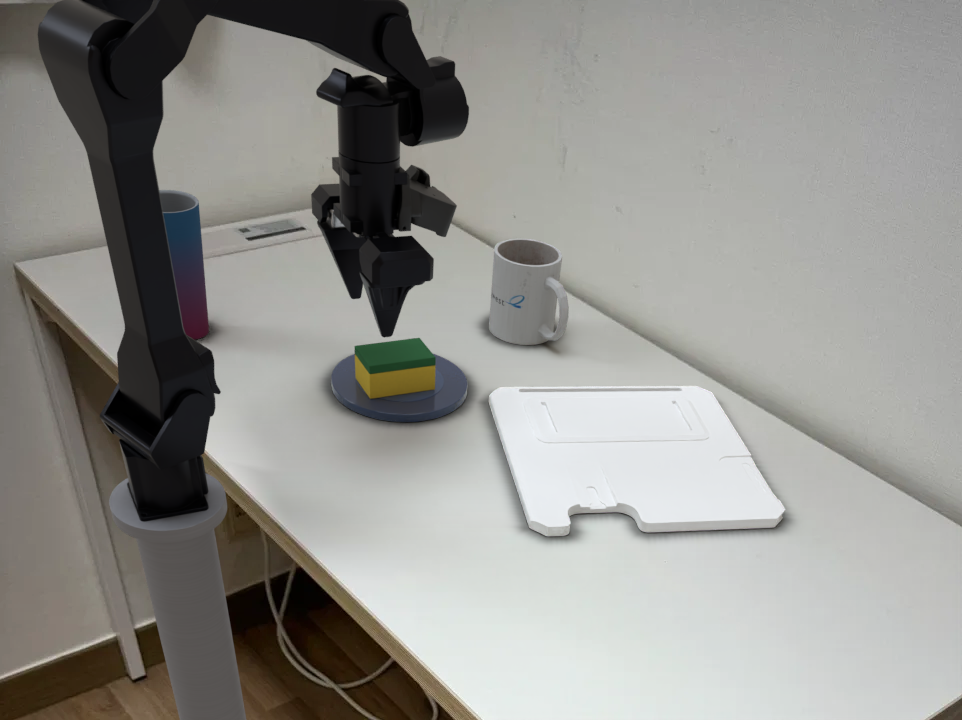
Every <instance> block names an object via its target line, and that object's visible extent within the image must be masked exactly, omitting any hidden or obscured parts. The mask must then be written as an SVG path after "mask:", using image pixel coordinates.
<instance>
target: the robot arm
mask: <svg viewBox="0 0 962 720" xmlns="http://www.w3.org/2000/svg"><path fill="white" fill-rule="evenodd" d="M207 16H211V17H215V18H219V19H222V20H226V21H229V22H233V23H237V24H241V25H245V26H249V27H253V28H257V29H260V30H265V31H269V32H272V33H276V34H280V35H283V36H288V37H292V38H295V39H300V40H304V41H306V42H307V43H309V44H310V45H313V46H314V47H316V48H318V49H320V50H322V51H323V52H325V53H326V54H329V55H331V56H333V57H335V58H337V59H339V60H342V61H343V62H346V63H349V64H351V65H353V66H356V67H359V68H361V69H363V70H366V71H368V72H371V73H374V74H376V75H378V76H381V77H382V78H383V77H384V78H386V80H385V81H384V82H382V81H381V80H380V79H379V78H377V77H376V76H374V75H371V74H363V75H356V76H353V75H352V74H350V72H347V71H344V70H342V69H339V68H337V67H333V68H332V69H331V72H330V74H329V76H328V77H327V78H326V79H324V80H323V81H322V82H321V83H320V84H319V86H318V87H317V88H316V91H315V94H316V97H318V98H319V99H321V100H324V101H326V102H328V103H331V104H332V105H335V106H336V111H337V143H338V145H337V147H338V148H337V149H338V150H337V151H338V156H332V157H331V168H332V170H333V171H334V172H335V174H337V176H338V181H339V183H322V184H321V183H319V184H318V185H317V187H316V188H315V189H314V190H313V191H312V193H311V194H310V197H311V199H310V200H311V214H312V215H313V216H314V217H315V219H316V220H317V221H316V224H317V227H318V228H319V230H320V232H321V234H322V236H323V239H324V241H325V244H326V245H327V249H329V252H330V255H331V256H332V259H333V261H334V263H335V265H336V267H337V270H338V272H339V275H340V277H341V279H342V281H343V284H344V286H345V288H346V291H347V294H348V295H349V297H350V299H352V300H359V299H361V298H362V294H363V288H364V290H365V293H366V297H367V299H368V302H369V305H370V308H371V311H372V314H373V317H374V320H375V323H376V325H377V329H378V331H379V334H380V336H381V337H382V338H391V337H392V336H393V335H394V332H395V330H396V325H397V322H398V320H399V317H400V315H401V312H402V308H403V306H404V302H405V300H406V298H407V296H408V293H409V292H410V291H411V290H412V289H413V288H415V287H416V286H422V285H423V284H425V283H426V282H431V281H432V280H433V279H434V264H435V263H434V261H435V258H434V257H433V256H432V255H431V254H430V253H429V251H427V249H425V247H424V246H423V245H421V244H420V243H419V241H418V240H417V239H415V237H414V236H413V235H400V236H399V235H398V236H395V235H394V232H395V231H398V232H401V233H402V232H411V231H412V225H414V226H417V227H419V228H422V229H425V230H428V231H431V232H434V233H435V235H437V236H439V237H442V238H446V237H447V235H448V233H449V229H450V227H451V224H452V220H453V219H454V215H455V212H456V210H457V207H458V205H457V204H456V203H455V202H454V201H453V200H452V199H451V198H450V197H448V195H447V194H445V193H444V192H442V191H441V190H439V189H438V188H437V187H436V186H433V185H431V176H430V174H429V173H428V172H427V171H426V170H425V169H424V168H422V167H419V166H416V165H414V164H410V165H409V166H408V168H407V169H406V170H405V169H404V168H403V167H402V166H401V143H402V144H403V145H404V146H406V147H411V148H413V147H418V146H424V145H428V144H433V143H438V142H443V141H448V140H454V139H457V138H459V137H460V136H461V135H462V134H463V133H464V131H465V130H466V128H467V126H468V123H469V117H470V106H469V104H468V101H467V96H466V93H465V90H464V87H463V85H462V83H461V82H460V80H459V78H458V77H457V76H456V62H455V61H454V60H453V59H449V58H447V57H444V56H442V55H438V56H433V57H430V58H428V59H427V58H426V56H425V53H424V52H423V50H422V47H421V46H420V45H421V44H420V43H419V41H418V39H417V37H416V35H415V33H414V30H413V24H412V23H413V22H412V19H411V16H410V9H409V7H408V6H407V5H406V3H404V2H403V1H401V0H59V1H56V2H55V3H54V4H52V6H51V7H50V8H49V9H47V11H46V13H45V16H44V17H43V18H42V21H40V22H39V24H38V29H37V41H38V42H37V43H38V50H39V53H40V56H41V60H42V62H43V64H44V67H45V70H46V73H47V75H48V78H49V80H50V82H51V85H52V87H53V91H54V93H55V96H56V99H57V100H58V102H59V105H60V106H61V108H62V110H63V112H64V113H65V115H66V116H67V118H68V120H69V122H70V123H71V125H72V127H73V129H74V131H75V132H76V134H77V136H78V137H79V139H80V140H81V142H82V144H83V147H84V149H85V153H86V156H87V159H88V164H89V168H90V173H91V179H92V182H93V187H94V191H95V196H96V200H97V201H96V202H97V204H98V210H99V214H100V219H101V222H102V229H103V233H104V237H105V242H106V246H107V250H108V255H109V259H110V264H111V268H112V274H113V277H114V282H115V286H116V287H115V288H116V292H117V296H118V301H119V305H120V308H121V314H122V319H123V324H124V331H123V335H122V337H121V341H120V343H119V346H118V349H117V353H116V360H117V379H118V382H117V384H116V385H115V388H114V389H113V391H112V392H111V394H110V396H109V398H108V399H107V401H106V403H105V405H104V406H103V408H102V410H101V411H100V413H99V419H100V420H101V422H102V423H103V425H104V426H105V427H106V429H107V430H108V431H109V433H111V434H112V435H115V436H116V437H117V438H119V440H118V443H119V447H120V451H121V455H122V460H123V463H124V468H125V473H126V477H127V478H128V481H129V482H128V483H127V487H128V490H129V493H130V495H131V498H132V501H133V503H134V506H135V509H136V511H137V514H138V517H139V519H140V521H143V522H145V521H151V520H157V519H162V518H168V517H173V516H179V515H184V514H190V513H195V512H201V511H206V510H208V509H209V506H208V502H207V500H206V498H205V496H204V495H206V494H208V492H209V491H208V485H207V479H206V469H205V468H206V467H205V463H204V462H205V461H204V458H203V455H204V454H205V450H206V445H207V439H208V433H209V427H210V421H211V418H212V417H213V416H214V415H215V413H216V412H215V411H216V396H215V395H220V394H221V392H222V391H221V389H220V388H219V386H218V384H217V381H216V375H215V374H216V373H215V358H214V353H213V351H212V350H211V349H210V348H208V347H207V346H205V345H203V344H202V343H200V342H198V341H197V340H196V339H195V340H194V339H192V338H191V337H189V336H188V335H186V333H185V331H184V328H183V323H182V317H181V311H180V306H179V300H178V294H177V289H176V283H175V277H174V272H173V266H172V260H171V255H170V249H169V243H168V237H167V232H166V226H165V220H164V215H163V209H162V203H161V198H160V192H159V190H160V187H159V181H158V175H157V170H156V164H155V159H154V150H155V149H154V148H155V146H156V141H157V140H158V139H157V138H158V135H159V132H160V129H161V125H162V123H163V120H164V114H165V113H164V80H165V79H166V78H167V77H168V76H169V75H170V74H171V73H172V72H173V71H174V69H176V67H178V66H179V65H180V64H181V62H182V61H183V60H184V59H185V58H186V55H187V52H188V50H189V47H190V45H191V43H192V40H193V37H194V34H195V33H196V29H197V27H198V25H199V24H200V23H201V22H202V21H203V20H204V19H205V18H206V17H207Z"/></svg>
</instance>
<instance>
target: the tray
mask: <svg viewBox="0 0 962 720" xmlns="http://www.w3.org/2000/svg"><path fill="white" fill-rule="evenodd" d="M488 406H489V408H490V411H491V414H492V418H493V421H494V423H495V427H496V430H497V433H498V436H499V439H500V443H501V445H502V448H503V452H504V455H505V458H506V461H507V464H508V467H509V470H510V473H511V476H512V480H513V482H514V485H515V489H516V492H517V495H518V497H519V501H520V504H521V507H522V510H523V513H524V516H525V519H526V522H527V525H528V528H529V529H531V530H532V531H535V532H537V533H539V534H541V535H543V536H545V537H564V536H567V535H569V533H570V529H571V519H570V517H571V516H573V515H576V514H578V515H579V514H599V513H600V514H601V513H620V514H621V513H622V514H625V515H628V516H630V517H631V518H632V519H633V520H634V522H635V523H636V525H637V527H638V529H639V530H640V531H642V532H643V533H670V532H694V531H696V532H697V531H719V530H721V531H722V530H743V529H745V530H746V529H771V528H774V529H775V528H776V526H778V524H779V523H780V522H781V521H782V520H783V518H784V517H783V514H784V513H785V511H786V508H785V506H784V505H783V503H782V501H781V500H780V498H779V499H778V497H777V496H776V495H775V494H774V492H773V490H772V489H771V487H770V485H768V483H767V481H766V479H765V478H764V476H763V475H762V473H761V472H760V469H759V468H758V467H757V465H756V464H755V461H754V459H753V458H752V454H751V452H750V450H749V449H748V447H747V445H746V444H745V443H744V441H743V439H742V438H741V436H740V434H739V433H738V431H737V430H736V428H735V427H734V425H733V423H732V422H731V420H730V419H729V417H728V416H727V414H726V412H725V411H724V409H723V408H722V406H721V404H720V402H719V401H718V399H717V397H716V396H715V395H714V393H713V392H712V391H710V390H708V389H705V388H703V387H701V386H698V385H616V386H615V385H613V386H611V385H608V386H607V385H605V386H603V385H602V386H601V385H600V386H596V385H595V386H594V385H593V386H592V385H591V386H589V385H588V386H587V385H586V386H585V385H584V386H499V387H498V388H495V389H494V390H493V391H492V392H491V393H490V394H489V395H488Z"/></svg>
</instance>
